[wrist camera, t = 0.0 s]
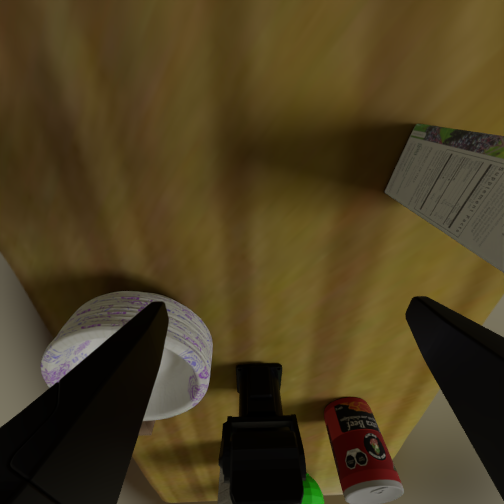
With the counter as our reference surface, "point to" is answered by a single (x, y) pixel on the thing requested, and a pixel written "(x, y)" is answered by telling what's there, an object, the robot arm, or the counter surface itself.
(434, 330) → the robot arm
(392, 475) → the canned food
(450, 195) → the syrup box
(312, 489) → the plastic bottle
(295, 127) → the counter surface
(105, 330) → the paper bowls
